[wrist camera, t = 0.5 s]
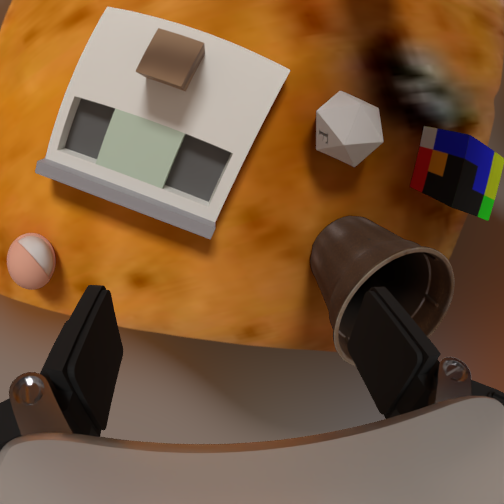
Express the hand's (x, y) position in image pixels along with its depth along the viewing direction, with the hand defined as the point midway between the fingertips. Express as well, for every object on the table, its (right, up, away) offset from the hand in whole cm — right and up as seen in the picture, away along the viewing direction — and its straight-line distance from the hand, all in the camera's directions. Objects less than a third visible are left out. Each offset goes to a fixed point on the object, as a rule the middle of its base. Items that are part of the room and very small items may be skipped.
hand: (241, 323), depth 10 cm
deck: (-11, +19, +21) cm, 30 cm away
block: (-8, +23, +16) cm, 29 cm away
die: (+11, +19, +25) cm, 33 cm away
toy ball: (-31, +3, +26) cm, 41 cm away
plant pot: (+14, +3, +33) cm, 36 cm away
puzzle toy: (+30, +17, +29) cm, 45 cm away
